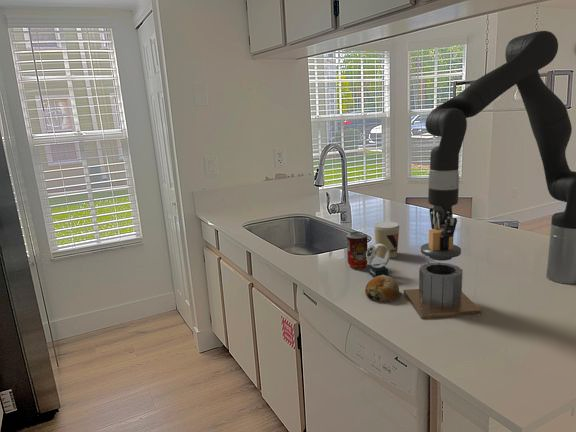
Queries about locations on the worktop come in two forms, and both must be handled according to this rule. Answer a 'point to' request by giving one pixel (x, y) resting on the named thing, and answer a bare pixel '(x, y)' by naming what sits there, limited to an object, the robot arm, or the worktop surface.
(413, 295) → the gray cylinder on base
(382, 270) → the watch
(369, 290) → the bread roll
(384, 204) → the worktop surface
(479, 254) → the worktop surface
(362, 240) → the soda can
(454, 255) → the cap
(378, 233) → the coffee cup
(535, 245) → the worktop surface
